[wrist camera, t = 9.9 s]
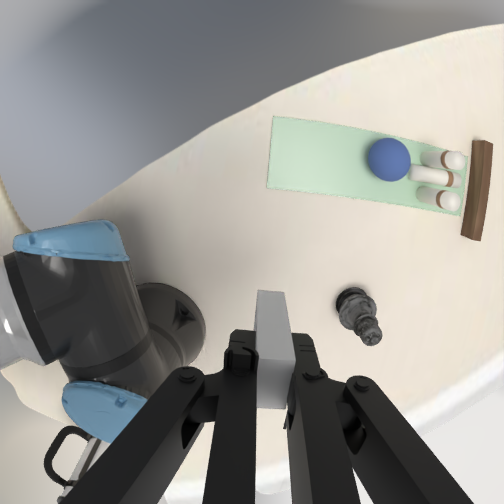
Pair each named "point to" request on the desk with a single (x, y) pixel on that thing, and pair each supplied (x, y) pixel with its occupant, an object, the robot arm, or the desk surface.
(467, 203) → the backstop
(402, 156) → the ball
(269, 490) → the desk surface
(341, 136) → the lane mark
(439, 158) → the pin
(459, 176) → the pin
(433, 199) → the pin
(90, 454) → the coffee press
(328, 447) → the robot arm
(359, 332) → the salt shaker
